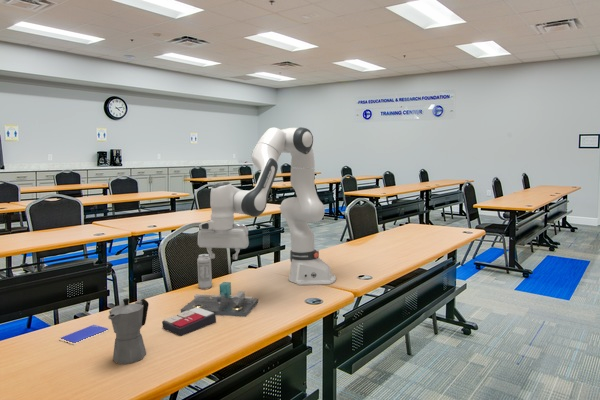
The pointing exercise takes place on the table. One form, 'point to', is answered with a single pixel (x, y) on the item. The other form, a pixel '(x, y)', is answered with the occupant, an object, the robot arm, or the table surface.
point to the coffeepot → (129, 331)
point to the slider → (224, 291)
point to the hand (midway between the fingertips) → (223, 258)
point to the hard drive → (84, 333)
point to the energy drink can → (204, 271)
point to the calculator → (189, 321)
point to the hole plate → (224, 304)
